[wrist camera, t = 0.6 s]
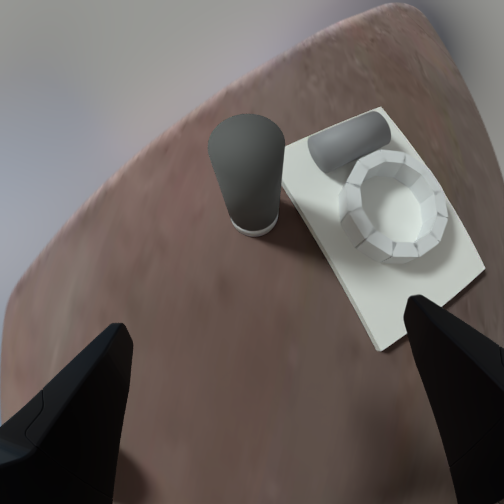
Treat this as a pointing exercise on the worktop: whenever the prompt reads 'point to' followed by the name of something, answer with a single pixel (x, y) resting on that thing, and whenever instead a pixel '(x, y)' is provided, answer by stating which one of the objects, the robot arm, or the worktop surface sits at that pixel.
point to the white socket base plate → (379, 220)
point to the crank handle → (249, 170)
